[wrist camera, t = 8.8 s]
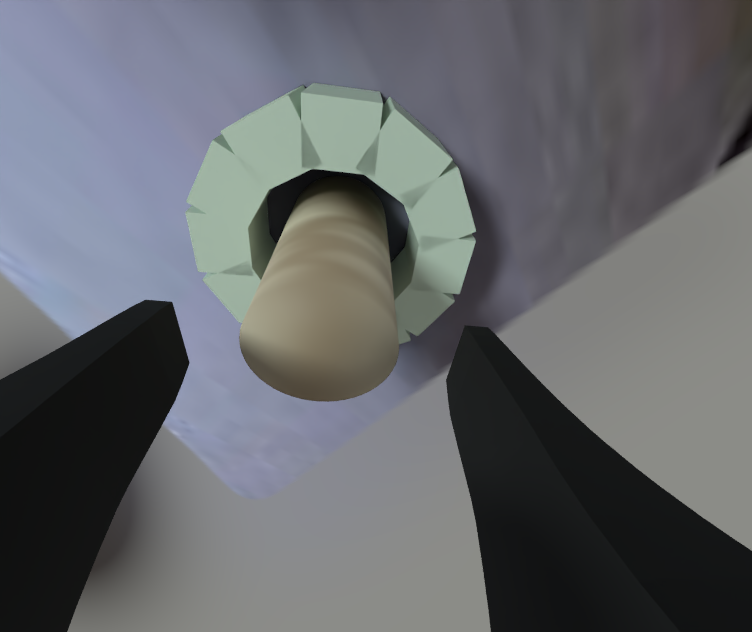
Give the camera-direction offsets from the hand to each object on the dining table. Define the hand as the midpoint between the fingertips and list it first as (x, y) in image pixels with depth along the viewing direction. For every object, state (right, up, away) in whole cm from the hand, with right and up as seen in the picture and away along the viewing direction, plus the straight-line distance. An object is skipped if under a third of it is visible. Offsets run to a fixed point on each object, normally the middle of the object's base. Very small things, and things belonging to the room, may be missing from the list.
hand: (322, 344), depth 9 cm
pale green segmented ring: (0, +5, +6) cm, 8 cm away
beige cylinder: (0, +5, +6) cm, 8 cm away
